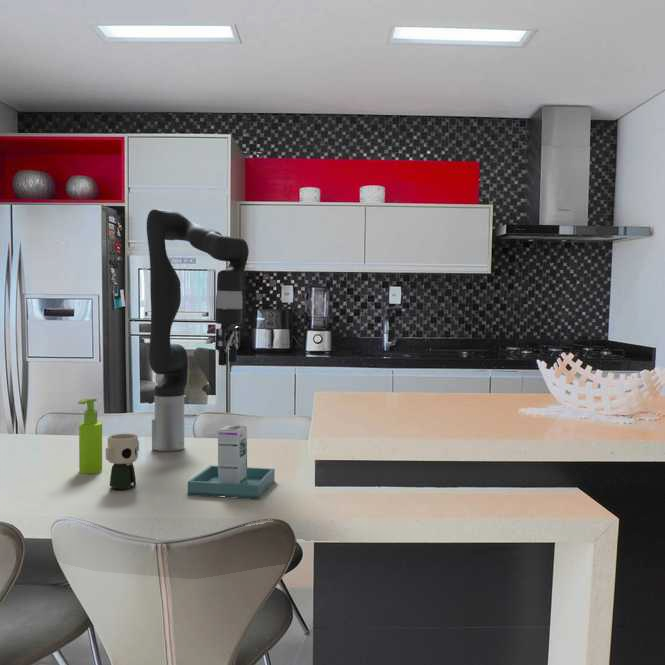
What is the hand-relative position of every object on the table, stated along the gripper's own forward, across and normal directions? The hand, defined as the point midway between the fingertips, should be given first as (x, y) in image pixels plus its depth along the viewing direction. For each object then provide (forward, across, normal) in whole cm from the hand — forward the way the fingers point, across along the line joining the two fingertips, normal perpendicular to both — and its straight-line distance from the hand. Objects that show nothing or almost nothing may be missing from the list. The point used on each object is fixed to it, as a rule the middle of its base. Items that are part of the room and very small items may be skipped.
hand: (227, 363), depth 179 cm
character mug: (+30, +27, -17) cm, 44 cm away
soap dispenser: (+30, +16, -33) cm, 47 cm away
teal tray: (+29, +22, +10) cm, 37 cm away
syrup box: (+28, +22, +10) cm, 37 cm away
